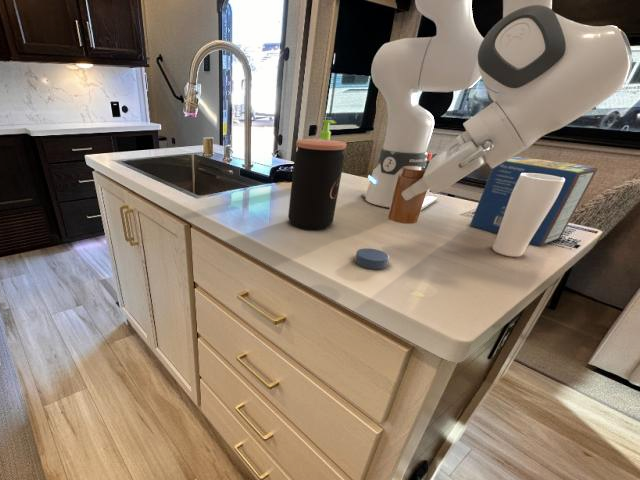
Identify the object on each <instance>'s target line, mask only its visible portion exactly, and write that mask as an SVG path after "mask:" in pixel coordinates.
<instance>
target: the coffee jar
mask: <svg viewBox="0 0 640 480" xmlns="http://www.w3.org/2000/svg"><path fill="white" fill-rule="evenodd" d="M347 144H348V143H346V142H344V141H340V140H333V139H330V140H323V139H319V138H305V139H304V138H303V139H298V140H296V141H295V146H296V147H297V149H296V151H295V152H294V158H293V167H292V178H291V185H290V186H291V187H290V196H289V206H288V216H287V217H288V221H289V223H290V224H291V225H292V226H294V227H295V228H298V229H302V230H307V231H322V230H326V229H327V228H329V227H330V226H331V225H332V223H333V222H334V218H335V213H336V208H337V207H336V206H337V201H338V196H339V190H340V185H341V178H342V172H343V167H344V162H345V154H344V150H345V149H346V148H347Z"/></svg>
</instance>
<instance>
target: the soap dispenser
mask: <svg viewBox="0 0 640 480" xmlns="http://www.w3.org/2000/svg"><path fill="white" fill-rule="evenodd" d="M321 121H322V123H323V129H322V130H320V131H319V138H318V139H323V140H331V135H332V131H330V125H336V124H337V121H335V120H333V119H322V120H321Z"/></svg>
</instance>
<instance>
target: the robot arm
mask: <svg viewBox="0 0 640 480" xmlns="http://www.w3.org/2000/svg"><path fill="white" fill-rule="evenodd" d="M472 2H473V0H414V3H415V7H416V10H417V11H418V12H419V13H420V14H421V15H422V16H424V17H425V18H427V19H429V20H431V21H432V22H433V23H434V24H435V27H436V34H435V35H434V36H427V37H404V38H400V39H397V40H396V39H395V40H392V41H389V42H386V43H384V44H382V45H381V47H380V48H379V49H378V50H377V52H376V54H375V55H374V57H373V60H372V63H371V69H370V74H371V75H370V76H371V79H372V83H373V84H374V86H375V87H376V88H377V89H378V90H379V92H380V93H381V94H382V96H383V98H384V100H385V103H386V108H387V125H386V131H385V137H384V142H383V147H382V149H380V152H379V154H378V161H377V162H378V165H377V166H376V167H375V168H374V169H373V170H372V173H371V175H370V174H368V176H367V178H368V179H369V183H368V186H367V189H366V191H363V192H362V196H363V197H364V198H365V201H366V202H368V203H369V204H372V205H375V206H379V207H383V208H389V209H390V205H391V201H392V197H393V193H394V189H395V186H396V182H397V178H398V175H399V174H402V168H403V167H404V166H419V167H425V168H426V171H425V173H424V175H423V178H421V179H420V180H419V181H417V182H416V183H414V184H413V185H411V186H409V187H408V188H406V189H405V190H404V191H403V192H402V196H403V198H404V199H405V200H409V199H411V198H413V197H414V196H416V195H418V194H420V193H423V192H425V191H427V192H426V195H425V198H424V202H423V205H422V208H421V211H422V210H424V209H425V208H427V207H429V206H430V205H431V204H434V203H435V202H436V200H437V197H435V196H433V195H436V194H439V193H441V192H443V191H445V190H446V189H448V188H449V187H451V186H452V185H454V184H456V183H457V182H459V181H460V180H461V179H463V178H465V177H466V176H468V175H470V174H471V173H473V172H474V171H475V170H478V169H480V168H481V167H483V166H484V165H486V164H488V166H489V168H490V169H491V170H492V169H493V168H495V167H496V166H498V165H500V164H501V163H503V162H505V161H506V160H508V159H510V158H512V157H516V155H518V154H520V153H522V152H523V151H525V150H527V149H528V148H530V147H531V146H532V145H533V144H535V142H536V141H538V140H539V139H541V138H542V137H544V136H545V135H547V134H550V133H552V132H555V131H558V130H560V129H562V128H565V127H566V126H567V125H569V124H571V123H572V122H574V121H575V120H577V119H579V118H581V117H583V116H584V115H585V114H587V113H588V112H590V111H591V110H592V109H595V108H596V107H598V106H599V105H600V104H602V103H603V102H604V101H606V100H607V99H609V98H610V97H612V96H613V95H614V94H615V93H617V92H618V91H619V90H620V89H621V88H623V86H624V85H626V82H627V81H628V80H629V77H630V75H631V72H632V68H633V62H634V59H633V50H632V48H631V44H630V42H629V39H628V37H627V35H626V34H625V32H624V31H623V30H622V29H620V28H619V27H618V26H616V25H601V26H595V25H587V24H583V23H579V22H576V21H574V20H571V19H568V18H566V17H564V16H562V15H560V14H558V13H556V12H555V11H554V10H553V0H502V8H503V9H502V18H501V19H500V20H499V21H497V23H495V24H494V25H493V26H492V28H490V29H489V30H488V32H487V33H486V35H485V36H484V37H483V36H482V35H481V33H480V32H479V30H478V28H477V27H476V24H475V21H474V17H473V10H472V9H473V8H472V4H473V3H472ZM480 79H481V80H482V82H483V85H484V88H485V90H486V92H487V93H486V94H487V98H488V103H489V105H486V107H484V108H483V109H482V110H480V111H479V112H477V113H476V114H475V115H473V116H472V117H470V118H469V119H467V120H466V121H464V122H463V123H462V125H463V127H464V129H465V131H463V132H462V133H461V134H459V135H458V136H456V137H455V139H454V140H452V141H451V142H450V143H449V144H447V145H446V146H445V147H443V149H441V150H440V151H439V152H438V153H436V155H434V156H433V153H432V152H427V151H428V147H429V143H430V140H431V136H432V134H433V129H434V126H435V119H434V116H433V115H432V113H431V112H430V111H428V110H427V109H425V108H424V107H422V106H421V105H420V104H418V102H417V100H416V98H417V97H416V96H417V93H420V92H428V93H429V92H431V93H451V92H457V91H462V90H468V89H470V88H472V87H473V86H474V85H476V84H477V83H478V81H480ZM427 161H429V162H428V164H427ZM430 192H431V193H432V194H433V195H430Z"/></svg>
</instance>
